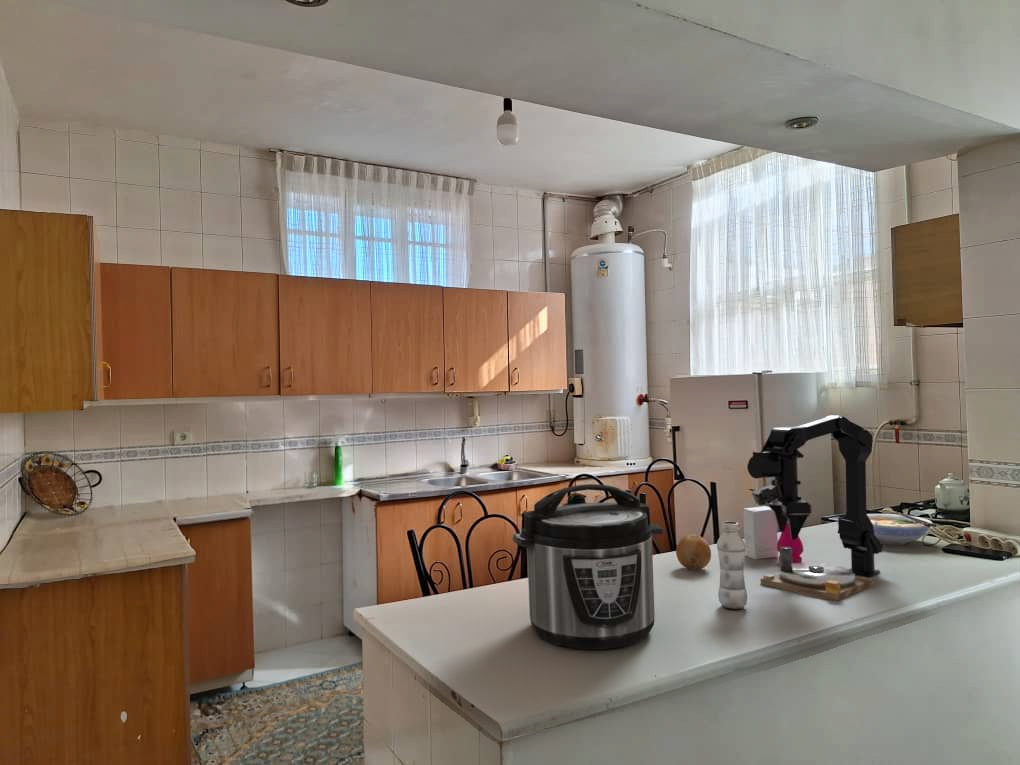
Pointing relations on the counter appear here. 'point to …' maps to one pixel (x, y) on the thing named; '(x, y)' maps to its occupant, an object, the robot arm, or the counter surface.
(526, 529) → the pressure cooker
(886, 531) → the ramen bowl
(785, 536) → the pepper mill
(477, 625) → the counter surface
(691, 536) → the onion
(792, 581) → the dial
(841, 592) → the dial base
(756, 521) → the skincare box
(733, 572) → the plastic bottle
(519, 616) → the counter surface
